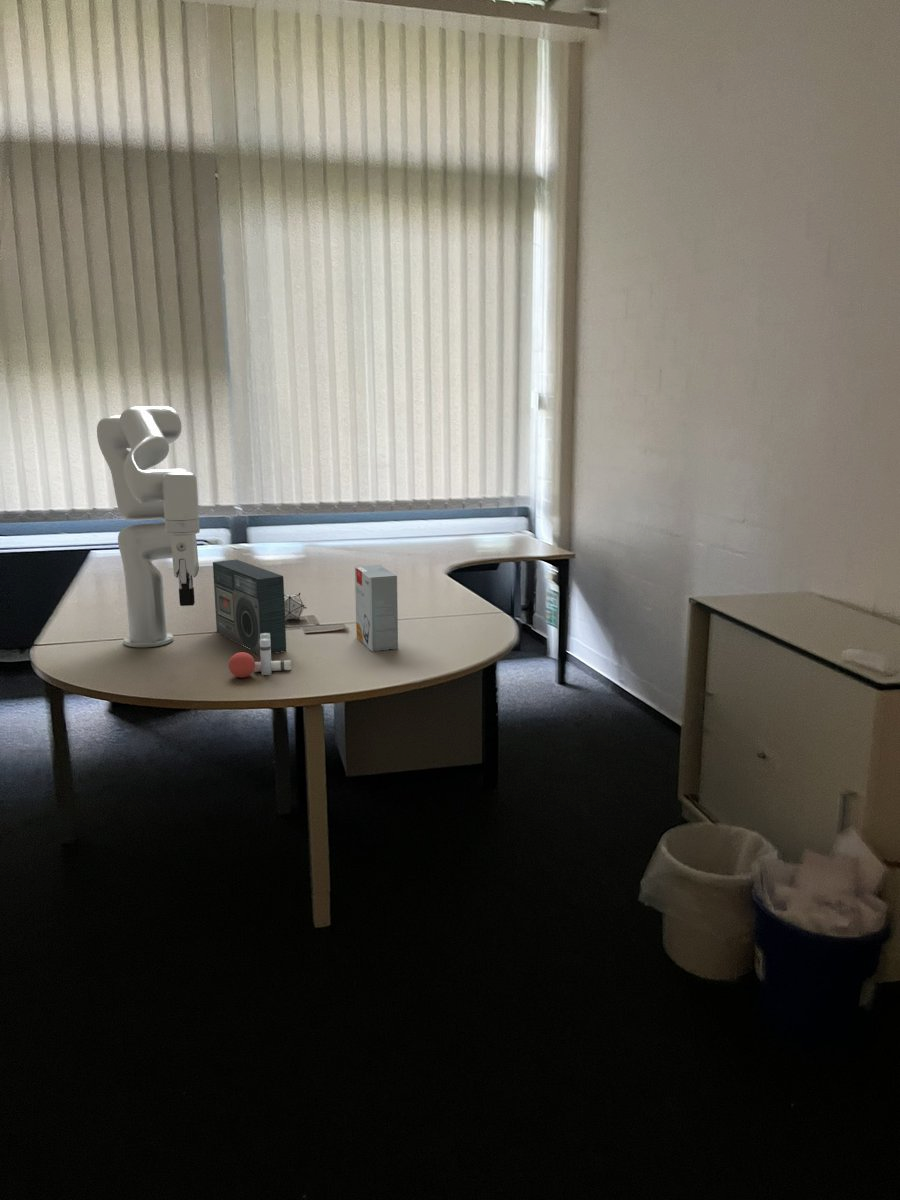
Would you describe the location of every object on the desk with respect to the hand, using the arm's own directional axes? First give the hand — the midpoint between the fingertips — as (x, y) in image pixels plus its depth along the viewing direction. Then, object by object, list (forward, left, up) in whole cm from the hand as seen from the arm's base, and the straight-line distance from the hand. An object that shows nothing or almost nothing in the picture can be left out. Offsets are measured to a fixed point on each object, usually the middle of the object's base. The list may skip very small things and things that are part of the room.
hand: (187, 604), depth 207 cm
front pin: (+5, +14, -16) cm, 22 cm away
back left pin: (+4, +17, -17) cm, 24 cm away
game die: (-37, +41, -17) cm, 58 cm away
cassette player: (-21, +23, -18) cm, 36 cm away
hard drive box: (-1, +50, -17) cm, 53 cm away
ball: (+8, +10, -14) cm, 19 cm away
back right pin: (+9, +15, -17) cm, 24 cm away
